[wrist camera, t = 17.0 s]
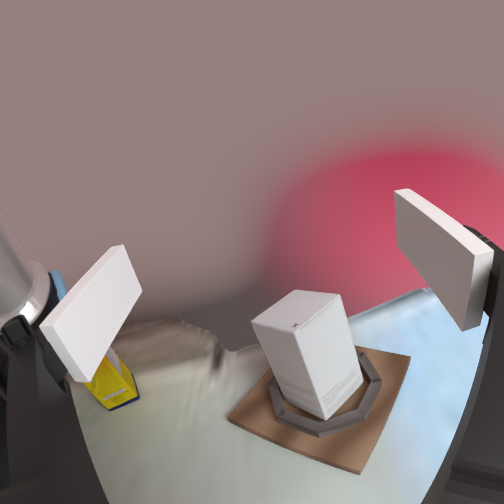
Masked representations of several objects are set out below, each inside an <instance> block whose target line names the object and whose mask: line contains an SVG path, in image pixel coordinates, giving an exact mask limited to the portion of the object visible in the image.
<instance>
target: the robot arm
mask: <svg viewBox="0 0 504 504" xmlns="http://www.w3.org/2000/svg"><path fill="white" fill-rule="evenodd" d="M394 197H395V212H396V231H397V246H398V247H399V249H400V250H401V251H402V252H403V253H404V255H405V256H406V257H407V258H408V260H409V261H410V262H411V263H412V265H413V266H414V267H415V268H416V270H417V271H418V272H419V273H420V275H421V276H422V277H423V278H424V280H425V281H426V282H427V284H428V285H429V286H430V288H431V289H432V290H433V292H434V293H435V294H436V296H437V297H438V298H439V300H440V301H441V303H442V304H443V305H444V307H445V308H446V309H447V311H448V312H449V314H450V315H451V316H452V318H453V319H454V321H455V322H456V324H457V325H458V327H459V328H460V329H461V331H462V332H463V331H466V330H469V329H471V328H474V327H477V326H480V323H481V319H482V315H483V311H485V313H486V314H487V315H488V316H489V321H488V325H487V329H486V332H485V336H484V339H483V342H482V344H483V348H482V352H481V356H480V360H479V364H478V367H477V371H476V375H475V378H474V381H473V385H472V388H471V391H470V394H469V397H468V400H467V403H466V406H465V409H464V412H463V415H462V417H461V420H460V423H459V425H458V428H457V430H456V433H455V435H454V438H453V440H452V443H451V445H450V447H449V449H448V452H447V454H446V456H445V458H444V460H443V463H442V465H441V467H440V469H439V471H438V473H437V475H436V477H435V479H434V481H433V483H432V485H431V486H430V488H429V490H428V492H427V494H426V496H425V497H424V499H423V501H422V503H421V504H504V251H503V250H501V249H500V248H499V247H498V246H496V245H495V244H494V243H493V242H491V241H489V239H487V238H486V237H484V236H483V235H482V234H480V233H479V232H478V231H477V230H475V229H473V228H470V227H468V226H465V225H463V226H462V225H461V224H459V223H458V222H457V221H455V220H454V219H453V218H451V217H450V216H448V215H447V214H446V213H444V212H443V211H441V210H440V209H439V208H437V207H436V206H434V205H433V204H431V203H430V202H428V201H427V200H425V199H424V198H422V197H421V196H419V195H418V194H416V193H415V192H413V191H412V190H410V189H403V190H397V191H394ZM141 293H142V289H141V286H140V284H139V282H138V279H137V277H136V275H135V272H134V270H133V267H132V265H131V263H130V260H129V258H128V255H127V253H126V250H125V248H124V245H118V246H114V247H111V248H110V249H109V250H108V251H107V252H106V253H105V254H104V255H103V256H102V257H101V258H100V259H99V260H98V261H97V262H96V263H95V264H94V265H93V266H92V267H91V269H90V270H89V271H88V272H87V273H86V274H85V275H84V276H83V277H82V278H81V279H80V280H79V281H78V282H77V283H76V284H75V286H74V287H73V288H72V289H71V290H70V291H69V292H68V290H67V288H66V285H65V282H64V279H63V277H62V274H61V272H60V271H59V270H54V271H52V270H51V271H49V272H48V273H47V271H46V269H45V268H44V267H43V266H42V265H41V264H40V263H38V262H37V261H34V260H29V259H26V257H25V256H24V254H23V252H22V250H21V249H20V247H19V245H18V243H17V242H16V240H15V238H14V236H13V234H12V233H11V230H10V228H9V226H8V225H7V223H6V221H5V219H4V217H3V215H2V213H1V211H0V504H109V502H108V500H107V498H106V496H105V493H104V491H103V489H102V486H101V484H100V481H99V479H98V476H97V474H96V471H95V469H94V466H93V463H92V461H91V458H90V455H89V452H88V449H87V446H86V443H85V440H84V437H83V434H82V431H81V427H80V424H79V421H78V417H77V413H76V410H75V406H74V402H73V398H72V394H71V390H70V386H69V383H68V381H67V380H66V379H65V377H64V376H65V375H66V373H67V371H68V372H69V373H70V375H71V376H72V377H73V379H74V380H75V381H76V382H88V383H90V381H91V379H92V377H93V375H94V374H95V372H96V370H97V368H98V366H99V364H100V363H101V361H102V359H103V357H104V355H105V354H106V352H107V350H108V348H109V347H110V345H111V343H112V341H113V340H114V338H115V336H116V334H117V333H118V331H119V329H120V327H121V326H122V324H123V322H124V321H125V319H126V317H127V316H128V314H129V312H130V311H131V309H132V307H133V306H134V303H135V302H136V301H137V299H138V297H139V296H140V294H141Z"/></svg>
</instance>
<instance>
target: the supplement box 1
mask: <svg viewBox="0 0 504 504" xmlns="http://www.w3.org/2000/svg"><path fill="white" fill-rule="evenodd" d="M82 383H83V384H84V385H85V386H86V387H87V389H88V390H89V391H90V392H91V393H92V394H93V395H94V396H95V397H96V398H97V399H98V400H99V401H100V402H101V403H102V404H103V405H104V406H105V407H106V408H107V409H108V410H109V411H112V410H115V409H117V408H120V407H122V406H125V405H127V404H129V403H131V402H133V401H135V400H137V399H139V398H140V397H139V393H138V390H137V386H136V383H135V380H134V376H133V374H132V373H131V372H130V371H129V369H128V368H127V367H126V366H125V364H124V363H123V362H122V360H121V359H120V358H119V357H118V355H117V354H116V353H115V351H114V350H113V349H112V347H111V346H110V347H109V348H108V350H107V352H106V354H105V355H104V357H103V359H102V361H101V363H100V364H99V366H98V368H97V370H96V372H95V374H94V375H93V377H92V379H91V381H90V383H88V382H82Z"/></svg>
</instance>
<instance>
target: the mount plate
mask: <svg viewBox="0 0 504 504" xmlns="http://www.w3.org/2000/svg"><path fill="white" fill-rule="evenodd" d="M354 346H355V345H354ZM355 350H356V354H357V358H358V361H359V365H360V369H361V373H362V377H363V383H362V384H361V385H360V386H359V388H358V389H357V390H356V391H355V392H354V393H353V394H352V395H351V396H350V397H349V398H348V399H347V400H346V401H345V402H344V403H343V405H342V406H341V407H340V408H339V409H338V410H337V411H336V412H335V413H334V414H333V415H332V416H331V417H330V418H328V419H327V420H323V419H321V418H319V417H317V416H315V415H313V414H311V413H308V412H306V411H304V410H302V409H300V408H298V407H296V406H294V405H292V404H290V403H288V402H286V400H285V398H284V396H283V393H282V391H281V389H280V387H279V384H278V382H277V380H276V378H275V376H274V373H273V371H272V369H271V368H270V369H269V370H268V371H267V373H266V374H265V375H264V376H263V377H262V378H261V380H260V381H259V382H258V383H257V384H256V385H255V387H254V388H253V389H252V390H251V391H250V392H249V394H248V395H247V396H246V397H245V398H244V399H243V400H242V402H241V403H240V404H239V405H238V406H237V407H236V408H235V409H234V410H233V412H232V413H231V414H230V415H229V416H228V419H229V421H230V422H231V423H233V424H235V425H237V426H239V427H241V428H243V429H245V430H247V431H249V432H251V433H253V434H255V435H257V436H259V437H262V438H264V439H266V440H268V441H270V442H273V443H275V444H277V445H280V446H282V447H284V448H287V449H289V450H291V451H294V452H296V453H299V454H301V455H304V456H306V457H309V458H312V459H314V460H317V461H320V462H322V463H325V464H328V465H331V466H334V467H336V468H339V469H342V470H345V471H348V472H352V473H355V474H358V475H360V474H361V472H362V470H363V468H364V466H365V465H366V463H367V461H368V459H369V457H370V455H371V453H372V451H373V449H374V447H375V445H376V443H377V441H378V439H379V437H380V435H381V433H382V430H383V428H384V426H385V424H386V422H387V419H388V417H389V415H390V412H391V410H392V408H393V405H394V403H395V401H396V398H397V396H398V393H399V391H400V388H401V385H402V383H403V380H404V378H405V375H406V372H407V369H408V367H409V364H410V359H411V356H405V355H400V354H395V353H389V352H384V351H379V350H374V349H369V348H364V347H360V346H355Z"/></svg>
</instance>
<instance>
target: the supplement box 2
mask: <svg viewBox="0 0 504 504" xmlns="http://www.w3.org/2000/svg"><path fill="white" fill-rule="evenodd" d="M251 324H252V326H253V329H254V331H255V333H256V336H257V338H258V340H259V342H260V345H261V347H262V349H263V351H264V354H265V356H266V358H267V360H268V362H269V365H270V367H271V369H272V371H273V373H274V376H275V378H276V380H277V382H278V384H279V387H280V389H281V391H282V393H283V396H284V398H285V400H286V402H288V403H290V404H292V405H294V406H296V407H298V408H300V409H302V410H304V411H306V412H308V413H311V414H313V415H315V416H317V417H319V418H321V419H323V420H327V419H328V418H330V417H331V416H332V415H333V414H334V413H335V412H336V411H337V410H338V409H339V408H340V407H341V406H342V405H343V403H344V402H345V401H346V400H347V399H348V398H349V397H350V396H351V395H352V394H353V393H354V392H355V391H356V390H357V389H358V388H359V386H360V385H361V384H362V383H363V377H362V373H361V369H360V365H359V361H358V358H357V354H356V350H355V346H354V343H353V339H352V335H351V331H350V328H349V324H348V321H347V317H346V314H345V311H344V308H343V304H342V300H341V297H340V295H339V294H330V293H320V292H311V291H302V290H294V291H293V292H291V293H289V294H288V295H287V296H285V297H284V298H282V299H281V300H280V301H278V302H277V303H275V304H274V305H273V306H271V307H270V308H268V309H267V310H266V311H264V312H263V313H262V314H260V315H259V316H258V317H256V318H255V319H253V320H251Z"/></svg>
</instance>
